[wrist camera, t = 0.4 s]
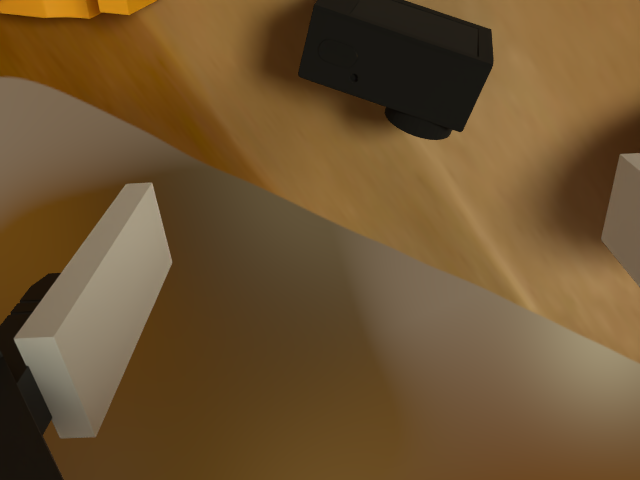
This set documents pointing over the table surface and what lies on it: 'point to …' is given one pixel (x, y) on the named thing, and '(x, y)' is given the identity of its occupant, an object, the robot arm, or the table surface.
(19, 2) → the pipe clamp
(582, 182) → the table surface
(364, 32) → the black rectangular block
